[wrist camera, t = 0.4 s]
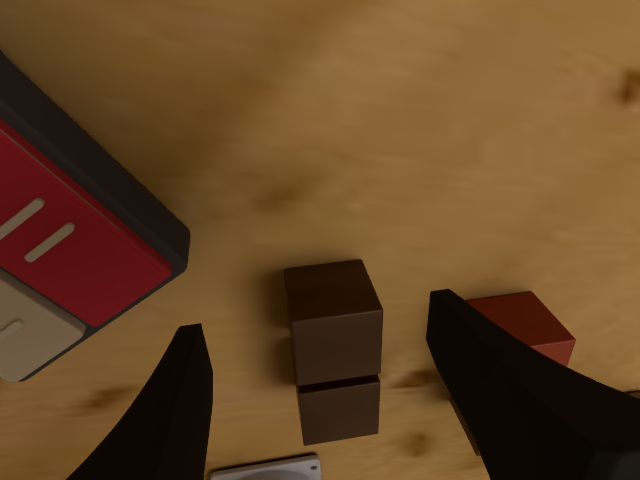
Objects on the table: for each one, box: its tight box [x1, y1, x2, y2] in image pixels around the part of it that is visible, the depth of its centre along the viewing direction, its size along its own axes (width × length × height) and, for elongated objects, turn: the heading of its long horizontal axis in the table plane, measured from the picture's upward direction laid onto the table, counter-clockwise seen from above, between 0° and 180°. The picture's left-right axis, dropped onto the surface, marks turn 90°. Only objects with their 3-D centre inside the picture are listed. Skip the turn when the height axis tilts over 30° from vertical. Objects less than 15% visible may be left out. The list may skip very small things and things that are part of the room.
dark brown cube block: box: [291, 341, 380, 446], centre depth 27 cm, size 4×4×4 cm
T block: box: [284, 260, 383, 386], centre depth 24 cm, size 4×4×4 cm
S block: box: [466, 292, 576, 367], centre depth 27 cm, size 4×4×4 cm
